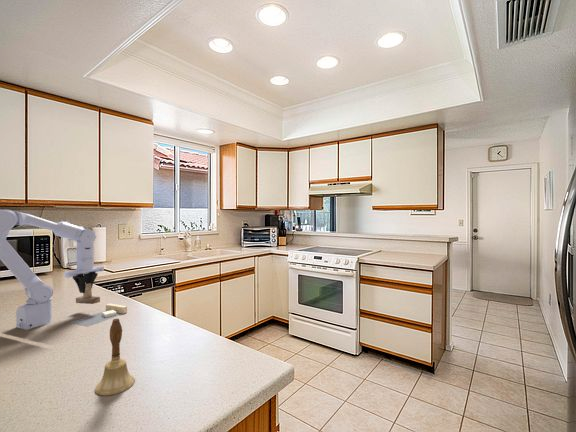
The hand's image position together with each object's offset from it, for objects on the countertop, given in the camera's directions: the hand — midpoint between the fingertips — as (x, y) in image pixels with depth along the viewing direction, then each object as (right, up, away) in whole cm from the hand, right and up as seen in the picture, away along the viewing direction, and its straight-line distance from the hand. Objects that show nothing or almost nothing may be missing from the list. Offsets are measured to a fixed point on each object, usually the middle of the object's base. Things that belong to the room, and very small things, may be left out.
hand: (85, 291), depth 119 cm
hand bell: (+41, -10, -49) cm, 64 cm away
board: (+9, -9, -6) cm, 14 cm away
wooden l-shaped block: (+1, -4, -1) cm, 4 cm away
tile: (+12, -8, -3) cm, 15 cm away
